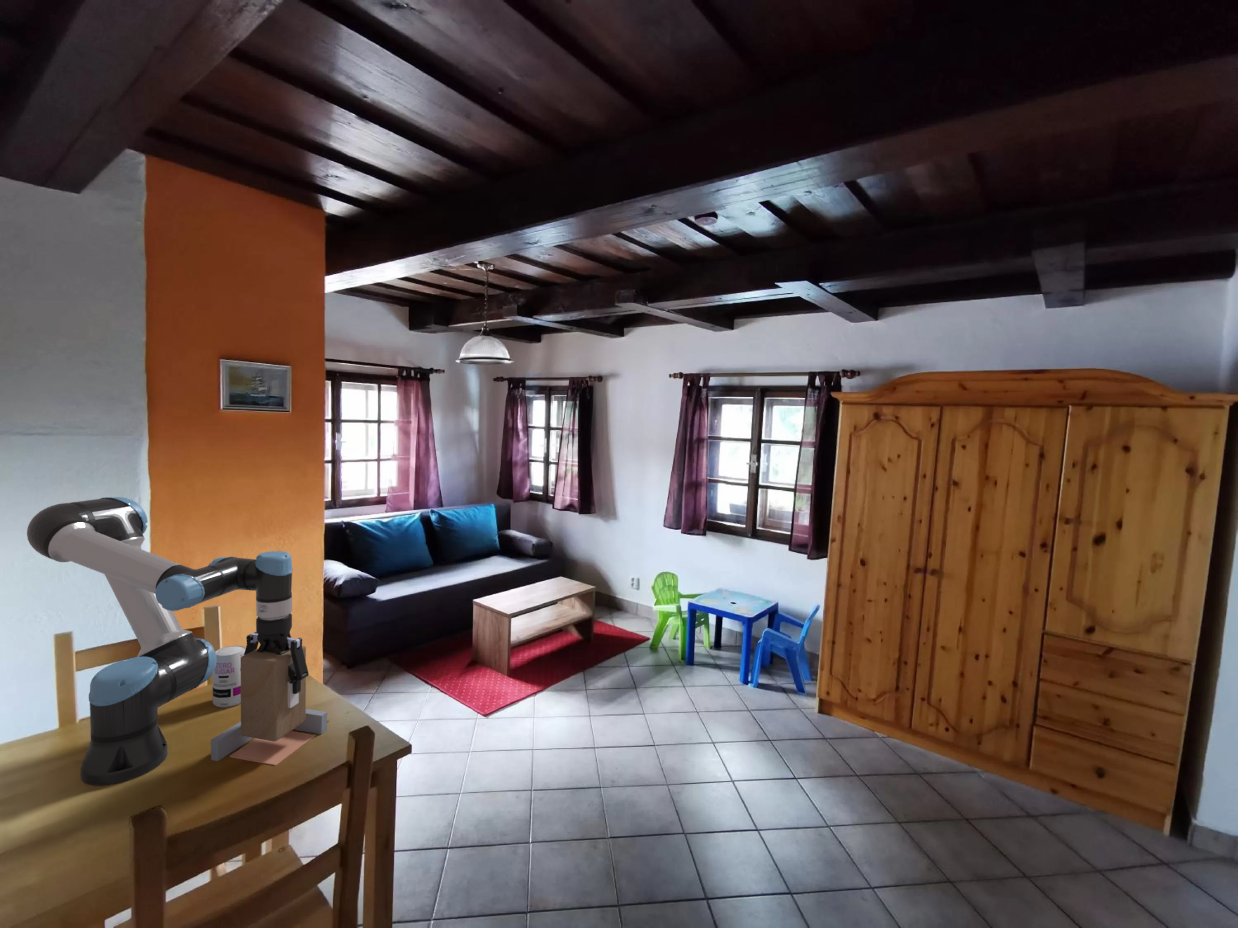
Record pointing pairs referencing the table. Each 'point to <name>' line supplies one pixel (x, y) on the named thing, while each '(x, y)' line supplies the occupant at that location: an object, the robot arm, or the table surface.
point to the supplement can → (227, 676)
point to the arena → (267, 749)
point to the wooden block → (269, 696)
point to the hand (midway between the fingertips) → (274, 702)
